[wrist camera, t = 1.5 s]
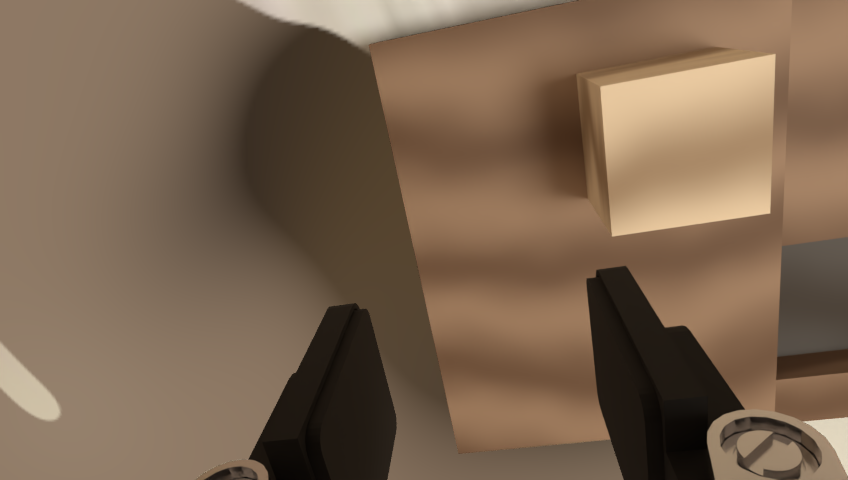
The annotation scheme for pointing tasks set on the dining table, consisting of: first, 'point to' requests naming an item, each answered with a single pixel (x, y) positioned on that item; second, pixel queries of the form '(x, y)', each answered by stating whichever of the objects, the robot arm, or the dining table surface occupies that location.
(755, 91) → the maple block
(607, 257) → the trap deck
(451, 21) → the dining table surface
